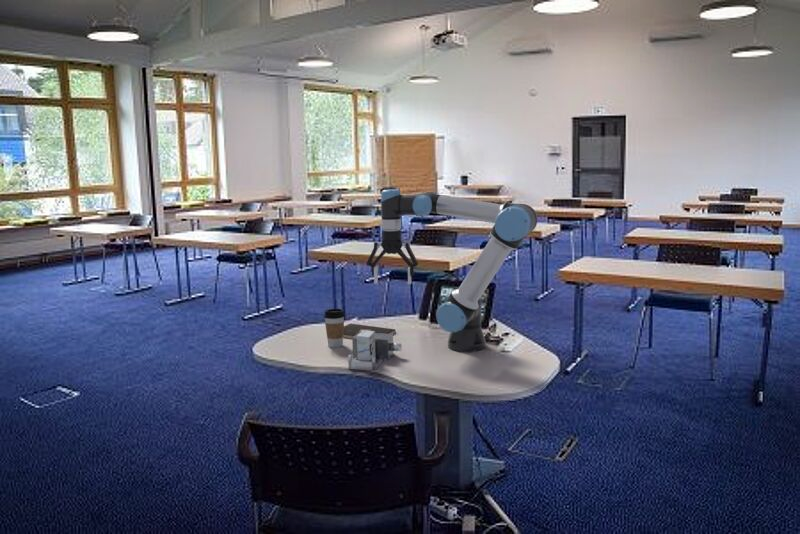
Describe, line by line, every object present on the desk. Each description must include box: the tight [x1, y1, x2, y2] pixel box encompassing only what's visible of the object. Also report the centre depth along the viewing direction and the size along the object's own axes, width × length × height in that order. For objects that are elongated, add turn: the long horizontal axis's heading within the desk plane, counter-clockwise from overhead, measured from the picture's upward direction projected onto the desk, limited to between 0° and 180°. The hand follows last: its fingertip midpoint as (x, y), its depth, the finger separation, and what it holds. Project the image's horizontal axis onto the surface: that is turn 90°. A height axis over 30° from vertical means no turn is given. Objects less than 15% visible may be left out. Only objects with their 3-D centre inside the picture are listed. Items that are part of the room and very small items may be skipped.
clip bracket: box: [347, 354, 384, 371], centre depth 248 cm, size 10×12×5 cm
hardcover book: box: [343, 323, 397, 340], centre depth 289 cm, size 16×23×2 cm
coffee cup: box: [323, 308, 345, 349], centre depth 272 cm, size 8×8×15 cm
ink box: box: [357, 331, 376, 361], centre depth 248 cm, size 9×5×12 cm, turn 167°
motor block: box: [351, 329, 403, 361], centre depth 257 cm, size 18×8×10 cm, turn 77°
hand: (392, 283), depth 262 cm, fingers open, 13 cm apart
